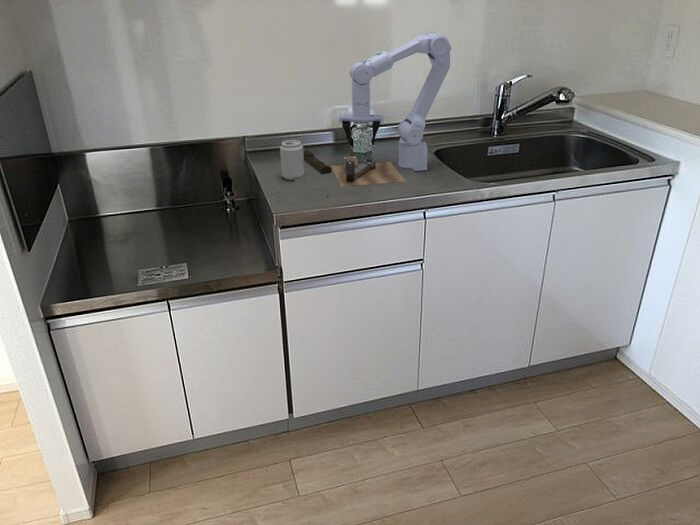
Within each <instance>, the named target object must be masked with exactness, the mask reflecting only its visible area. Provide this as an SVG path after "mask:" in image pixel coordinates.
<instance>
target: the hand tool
mask: <svg viewBox="0 0 700 525" xmlns="http://www.w3.org/2000/svg"><path fill="white" fill-rule="evenodd" d="M303 156H304V161H305V162H306V163H307V164H308V165H310V166H311V167H312V168H313V169H315V170H316V171H318V172H319V174H320V175H326V174H331V173H332V168H331V166H329V165H326V164H325V162H324V161H321V160H320V159H318V158H316V157H315V154H314V153H312V151H309V150H305V151H304V150H303Z"/></svg>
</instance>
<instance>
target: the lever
mask: <svg viewBox="0 0 700 525" xmlns="http://www.w3.org/2000/svg"><path fill="white" fill-rule="evenodd" d="M376 163H377V161H376V159H374V158H372V157H367V158H366V159H363V160H362V163H360V164H361V165H359V166H358V167H356V168H355V162H354V161H346V181H354V180H355V179H356V178H358V177H359V176H361V175H362V174H364V173H365V172H366V171H368V170H369V169H374V168H376Z"/></svg>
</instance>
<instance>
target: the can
mask: <svg viewBox="0 0 700 525" xmlns="http://www.w3.org/2000/svg"><path fill="white" fill-rule="evenodd" d="M301 143H302V141H300V140H298V139H288V140H283V141H282V142H281V146H280V147H279V153H280V167H281V169H280V170H281V177H283V178H284V179H285V180H288V181H296V179H295V178H300V177H302V176H304V175H305V164H304V163H305V162H304V161H305V160H304V156H303V154H304V146H303V145H302V144H301Z"/></svg>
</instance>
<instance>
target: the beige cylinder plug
mask: <svg viewBox="0 0 700 525" xmlns="http://www.w3.org/2000/svg"><path fill="white" fill-rule="evenodd" d="M347 161H354V162H355V168H356V167H358V164H359V163H358V161H359V160H358V158H357V157H356V158H349V159H347Z"/></svg>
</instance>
